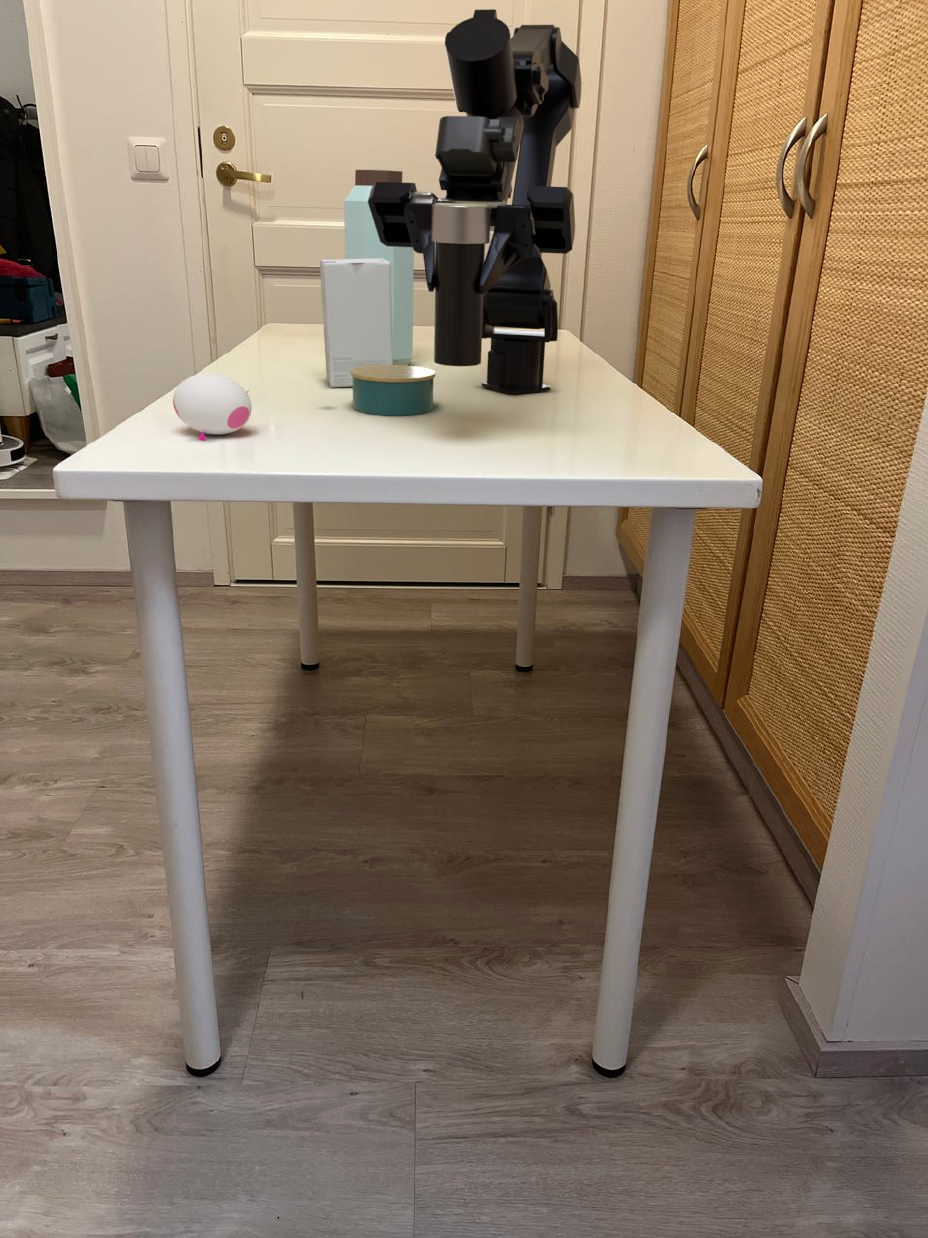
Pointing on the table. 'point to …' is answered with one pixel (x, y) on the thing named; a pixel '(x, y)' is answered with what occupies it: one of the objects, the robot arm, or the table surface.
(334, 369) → the cosmetic box
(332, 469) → the table surface
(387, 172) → the water bottle
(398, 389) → the tin
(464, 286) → the torch
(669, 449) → the table surface
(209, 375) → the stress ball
